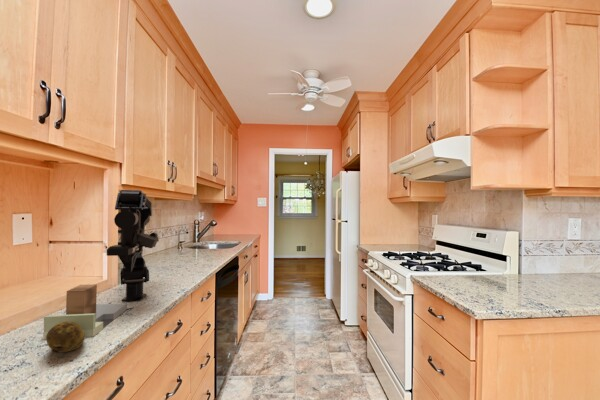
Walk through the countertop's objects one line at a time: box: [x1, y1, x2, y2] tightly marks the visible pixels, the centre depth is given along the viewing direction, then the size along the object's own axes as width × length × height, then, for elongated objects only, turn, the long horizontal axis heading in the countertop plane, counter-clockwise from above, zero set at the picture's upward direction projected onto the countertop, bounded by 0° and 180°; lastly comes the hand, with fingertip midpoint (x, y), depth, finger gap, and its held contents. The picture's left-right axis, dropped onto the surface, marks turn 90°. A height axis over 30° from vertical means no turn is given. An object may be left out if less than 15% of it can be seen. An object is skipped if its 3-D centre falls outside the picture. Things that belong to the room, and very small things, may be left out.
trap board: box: [43, 302, 128, 341], centre depth 84 cm, size 20×12×6 cm, turn 9°
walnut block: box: [65, 284, 98, 315], centre depth 80 cm, size 6×4×10 cm
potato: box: [45, 322, 86, 354], centre depth 68 cm, size 8×13×8 cm, turn 16°
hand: (129, 271), depth 94 cm, fingers closed
